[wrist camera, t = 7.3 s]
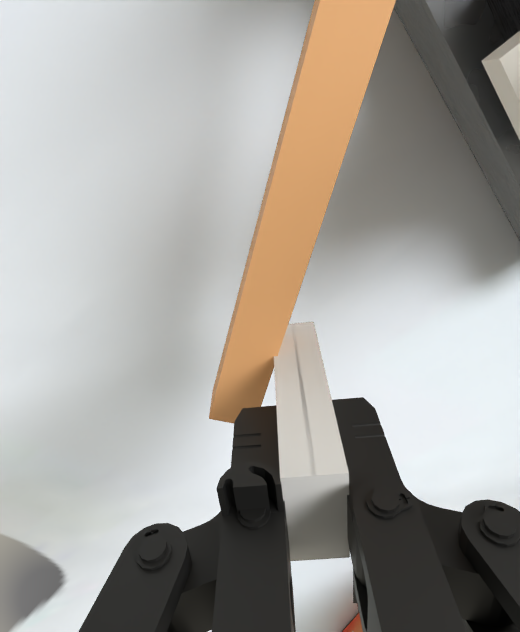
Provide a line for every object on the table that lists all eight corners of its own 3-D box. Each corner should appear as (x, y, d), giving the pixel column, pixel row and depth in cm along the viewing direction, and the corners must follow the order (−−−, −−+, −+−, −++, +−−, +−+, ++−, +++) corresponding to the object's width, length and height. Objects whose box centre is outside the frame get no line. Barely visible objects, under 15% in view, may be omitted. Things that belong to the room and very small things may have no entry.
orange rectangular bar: (358, -303, 11) (446, -637, 6) (455, -261, 11) (617, -545, 6) (208, 330, 19) (192, 415, 14) (266, 343, 19) (270, 430, 14)
